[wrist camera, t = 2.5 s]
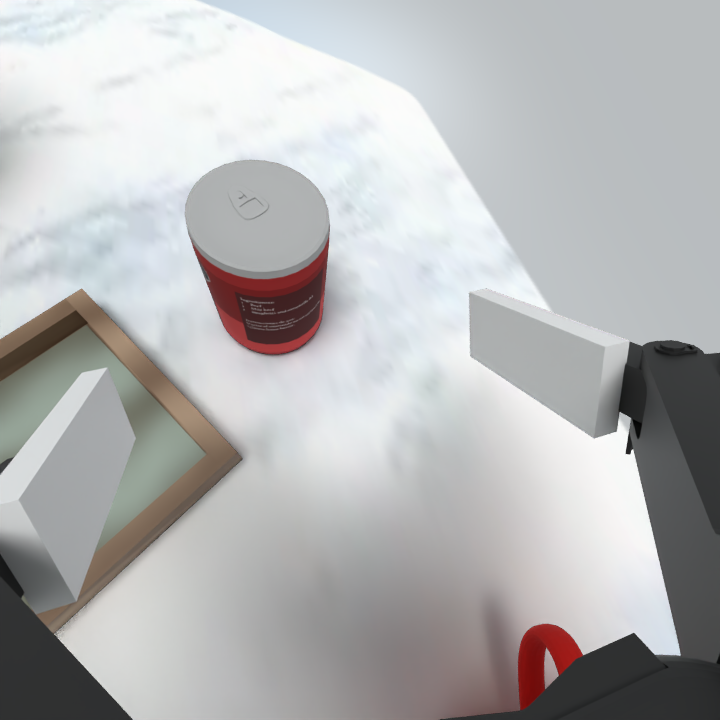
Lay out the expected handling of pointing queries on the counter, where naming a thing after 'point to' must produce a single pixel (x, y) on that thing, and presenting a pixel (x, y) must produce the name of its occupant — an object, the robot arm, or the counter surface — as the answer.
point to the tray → (146, 416)
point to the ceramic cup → (542, 658)
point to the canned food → (262, 251)
